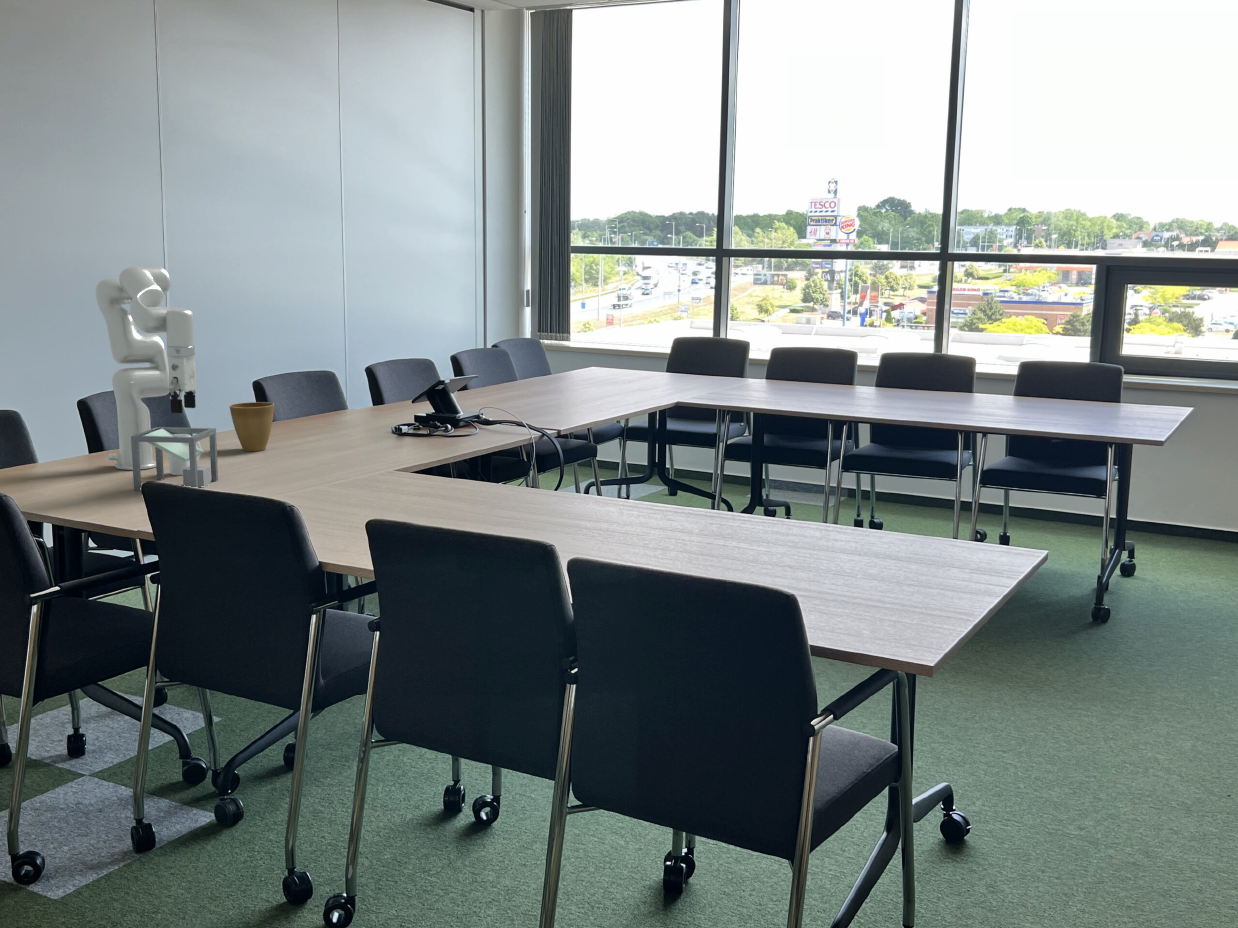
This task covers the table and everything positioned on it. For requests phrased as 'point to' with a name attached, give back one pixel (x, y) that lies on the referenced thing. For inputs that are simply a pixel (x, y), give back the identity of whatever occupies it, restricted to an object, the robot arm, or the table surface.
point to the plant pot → (252, 424)
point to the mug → (177, 464)
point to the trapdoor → (173, 446)
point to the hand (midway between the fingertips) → (183, 410)
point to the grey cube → (202, 475)
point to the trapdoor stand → (192, 440)
